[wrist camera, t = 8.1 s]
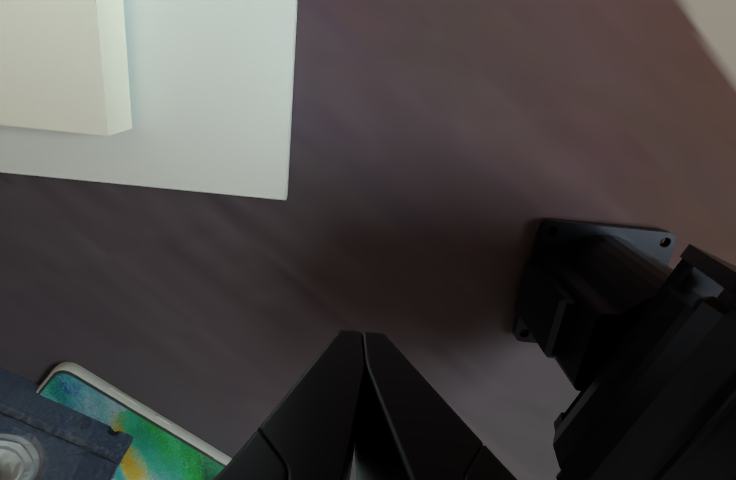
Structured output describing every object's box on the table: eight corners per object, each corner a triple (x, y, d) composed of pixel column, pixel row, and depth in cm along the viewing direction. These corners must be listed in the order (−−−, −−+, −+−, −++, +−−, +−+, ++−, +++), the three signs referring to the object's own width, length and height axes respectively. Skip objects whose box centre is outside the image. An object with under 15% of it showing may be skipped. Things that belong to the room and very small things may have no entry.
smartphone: (218, 562, 29) (-8, 443, 25) (222, 549, 30) (3, 431, 26) (291, 502, 27) (58, 361, 23) (293, 489, 28) (68, 351, 24)
